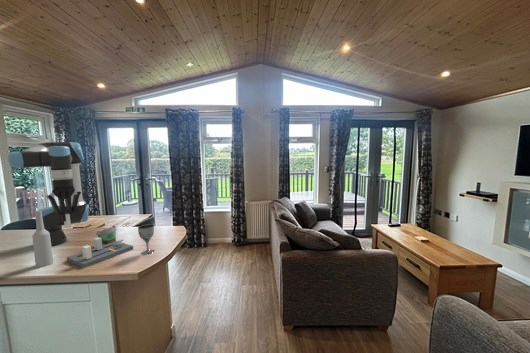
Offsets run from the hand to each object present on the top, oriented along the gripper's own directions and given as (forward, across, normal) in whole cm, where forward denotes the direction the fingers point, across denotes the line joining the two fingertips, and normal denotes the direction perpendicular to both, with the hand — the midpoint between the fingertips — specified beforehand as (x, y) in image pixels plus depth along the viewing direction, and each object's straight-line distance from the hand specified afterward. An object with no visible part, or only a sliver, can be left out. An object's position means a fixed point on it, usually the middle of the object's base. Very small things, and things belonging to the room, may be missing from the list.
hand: (67, 227), depth 112 cm
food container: (+21, +27, +17) cm, 38 cm away
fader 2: (+18, +16, +8) cm, 25 cm away
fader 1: (+18, +7, 0) cm, 19 cm away
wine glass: (+21, +29, -17) cm, 39 cm away
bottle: (+21, -4, +19) cm, 29 cm away
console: (+21, +15, +4) cm, 26 cm away
